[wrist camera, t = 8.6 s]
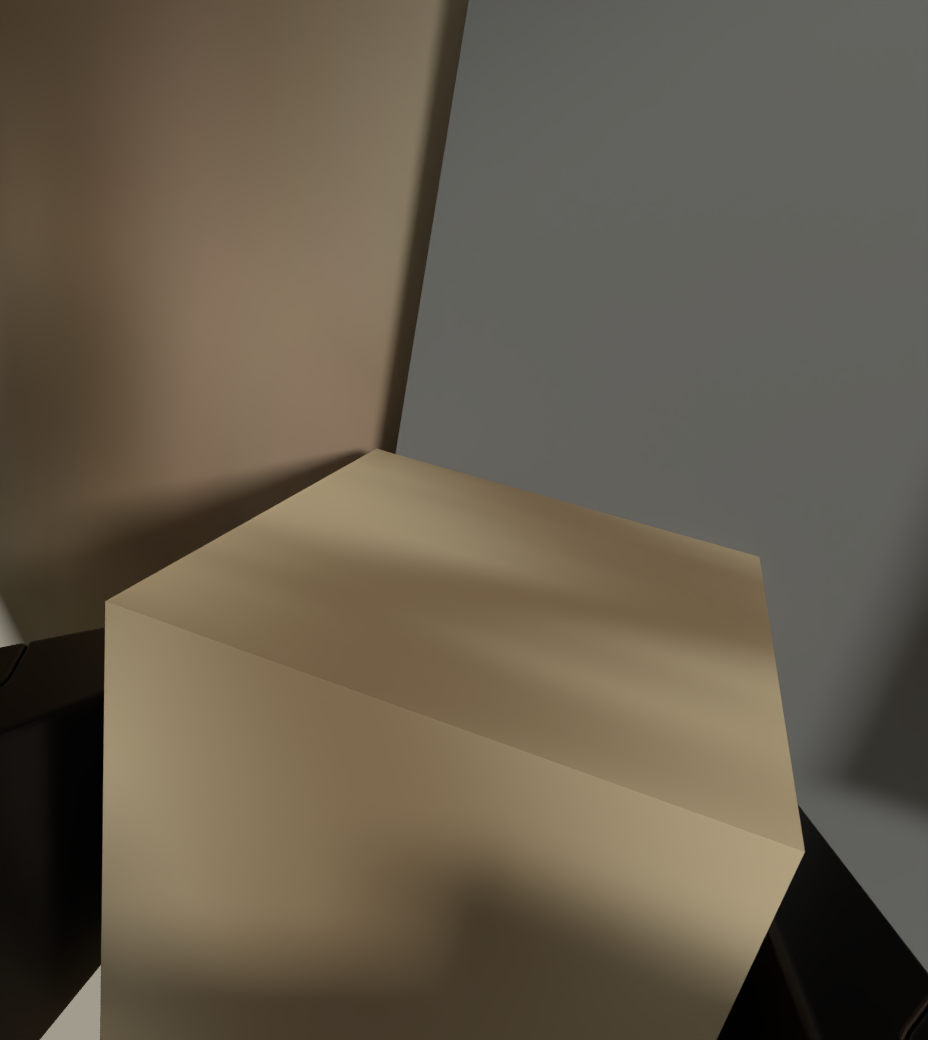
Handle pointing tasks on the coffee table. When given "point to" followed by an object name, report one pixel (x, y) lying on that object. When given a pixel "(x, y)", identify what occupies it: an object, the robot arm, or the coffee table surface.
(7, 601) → the coffee table surface
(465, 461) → the mat
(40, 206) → the coffee table surface
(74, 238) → the coffee table surface
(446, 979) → the cube
